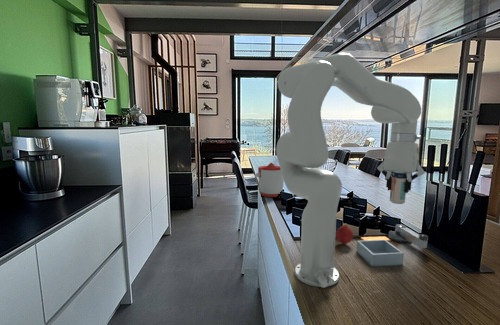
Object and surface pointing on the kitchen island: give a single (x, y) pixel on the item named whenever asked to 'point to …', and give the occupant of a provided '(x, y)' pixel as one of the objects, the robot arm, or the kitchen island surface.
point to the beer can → (398, 187)
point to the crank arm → (412, 236)
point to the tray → (379, 253)
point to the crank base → (391, 235)
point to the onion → (344, 234)
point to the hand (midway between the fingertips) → (398, 190)
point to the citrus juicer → (270, 180)
